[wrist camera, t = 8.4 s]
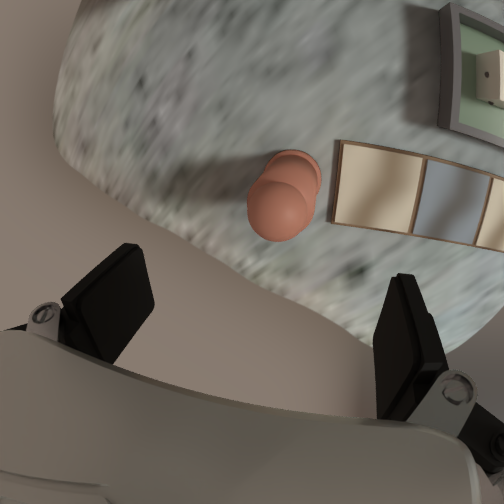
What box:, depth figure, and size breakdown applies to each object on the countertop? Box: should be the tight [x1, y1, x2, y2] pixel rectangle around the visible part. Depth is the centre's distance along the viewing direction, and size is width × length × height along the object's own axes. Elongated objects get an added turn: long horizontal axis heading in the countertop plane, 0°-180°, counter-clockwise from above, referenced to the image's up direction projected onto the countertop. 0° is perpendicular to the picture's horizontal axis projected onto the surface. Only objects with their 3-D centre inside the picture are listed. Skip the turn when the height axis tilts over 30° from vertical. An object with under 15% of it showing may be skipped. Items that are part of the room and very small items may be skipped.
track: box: [331, 140, 504, 253], centre depth 23 cm, size 24×8×1 cm, turn 89°
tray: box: [437, 2, 504, 148], centre depth 15 cm, size 12×12×3 cm
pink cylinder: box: [247, 150, 321, 242], centre depth 21 cm, size 5×5×11 cm
